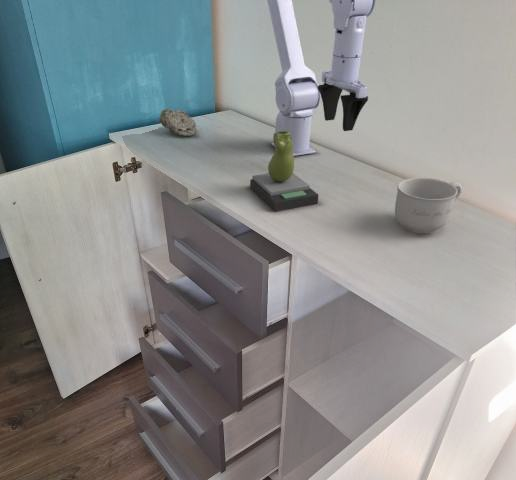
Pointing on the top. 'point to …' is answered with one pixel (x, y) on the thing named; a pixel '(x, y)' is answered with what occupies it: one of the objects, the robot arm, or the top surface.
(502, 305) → the top surface
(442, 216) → the teacup
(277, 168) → the pear
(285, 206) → the scale
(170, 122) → the rock sample
